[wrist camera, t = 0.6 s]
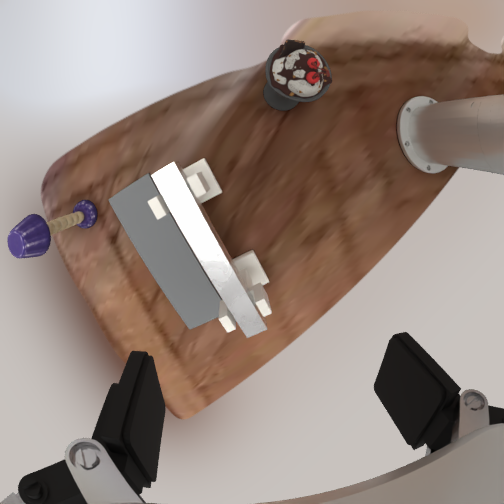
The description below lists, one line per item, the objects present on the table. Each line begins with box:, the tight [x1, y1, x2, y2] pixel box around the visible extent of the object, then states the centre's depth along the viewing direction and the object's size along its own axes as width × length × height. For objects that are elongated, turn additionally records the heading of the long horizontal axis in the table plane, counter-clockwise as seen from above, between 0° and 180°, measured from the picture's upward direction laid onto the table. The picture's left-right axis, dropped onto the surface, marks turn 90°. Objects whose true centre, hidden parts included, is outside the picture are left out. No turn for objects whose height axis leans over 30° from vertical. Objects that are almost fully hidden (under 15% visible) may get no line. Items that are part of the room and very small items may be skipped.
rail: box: [151, 162, 267, 338], centre depth 28 cm, size 2×20×2 cm, turn 26°
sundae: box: [263, 40, 332, 111], centre depth 25 cm, size 7×7×15 cm
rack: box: [147, 158, 272, 332], centre depth 32 cm, size 6×19×12 cm, turn 26°
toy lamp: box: [8, 200, 97, 258], centre depth 27 cm, size 5×5×17 cm
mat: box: [109, 173, 222, 329], centre depth 38 cm, size 7×23×1 cm, turn 26°
